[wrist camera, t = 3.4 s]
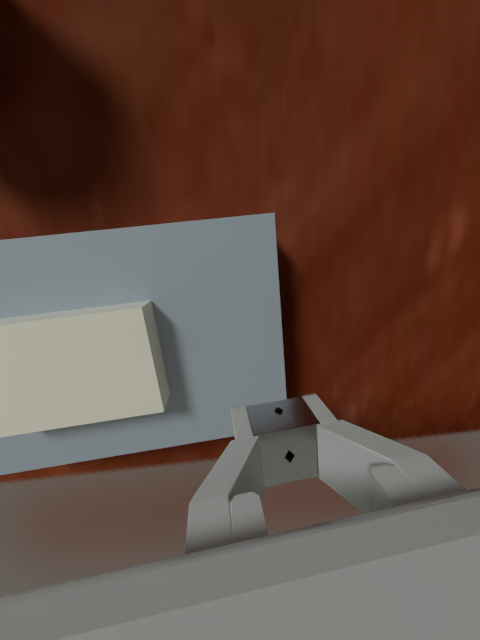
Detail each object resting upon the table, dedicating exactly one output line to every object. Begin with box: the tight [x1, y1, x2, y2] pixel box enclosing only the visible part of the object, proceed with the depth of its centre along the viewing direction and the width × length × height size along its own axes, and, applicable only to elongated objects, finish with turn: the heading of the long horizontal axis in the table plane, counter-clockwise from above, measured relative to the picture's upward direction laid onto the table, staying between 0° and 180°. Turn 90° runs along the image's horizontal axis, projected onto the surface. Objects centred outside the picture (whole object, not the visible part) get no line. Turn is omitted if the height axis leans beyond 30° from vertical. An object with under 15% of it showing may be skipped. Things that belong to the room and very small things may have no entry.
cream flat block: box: [0, 301, 170, 438], centre depth 14 cm, size 9×6×2 cm, turn 96°
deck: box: [0, 213, 287, 475], centre depth 17 cm, size 20×14×4 cm
